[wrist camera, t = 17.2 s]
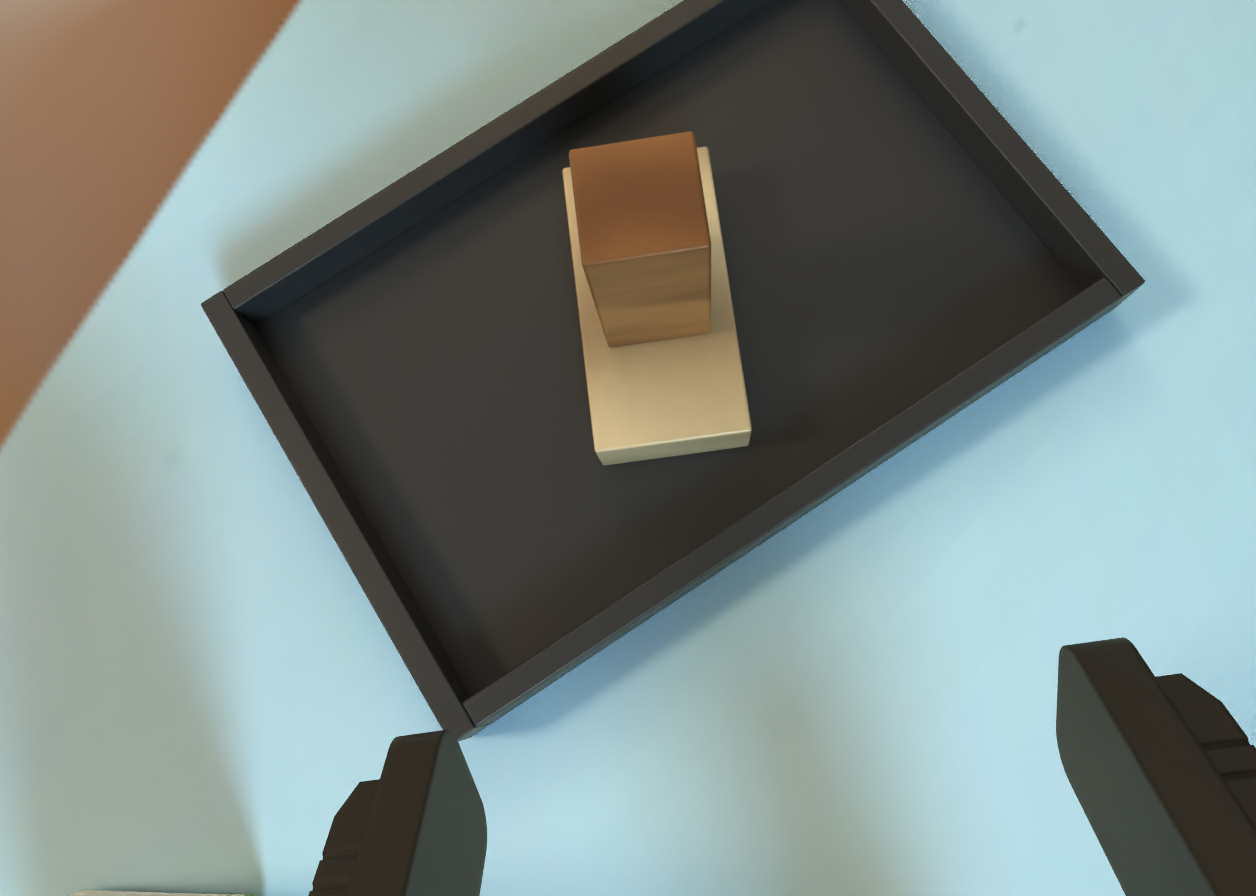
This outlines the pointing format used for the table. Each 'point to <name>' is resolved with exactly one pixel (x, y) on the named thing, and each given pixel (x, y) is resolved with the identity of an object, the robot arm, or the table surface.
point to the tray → (552, 344)
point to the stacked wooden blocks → (654, 300)
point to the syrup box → (144, 894)
